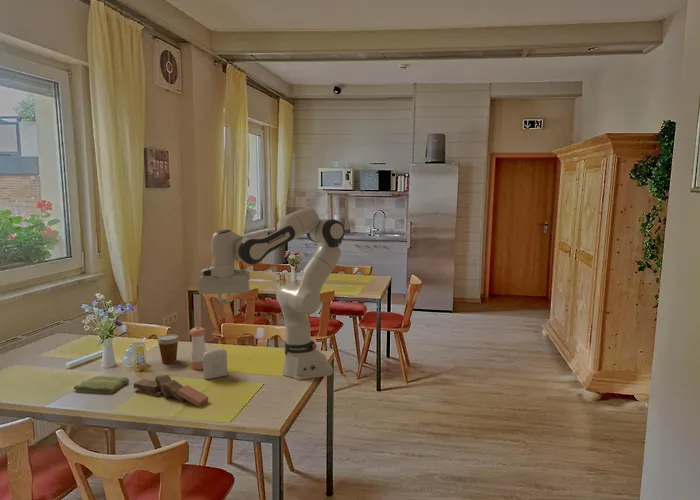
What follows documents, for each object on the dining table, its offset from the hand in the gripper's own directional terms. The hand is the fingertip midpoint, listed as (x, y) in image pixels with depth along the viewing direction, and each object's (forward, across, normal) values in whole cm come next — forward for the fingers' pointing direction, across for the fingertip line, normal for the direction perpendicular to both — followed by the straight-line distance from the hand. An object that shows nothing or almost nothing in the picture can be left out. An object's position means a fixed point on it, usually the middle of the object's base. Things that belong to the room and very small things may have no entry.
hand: (224, 303), depth 200 cm
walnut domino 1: (+33, +26, +2) cm, 42 cm away
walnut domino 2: (+35, +24, +4) cm, 43 cm away
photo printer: (+35, +6, -12) cm, 38 cm away
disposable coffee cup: (+35, +30, -34) cm, 57 cm away
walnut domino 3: (+34, +20, +8) cm, 40 cm away
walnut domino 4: (+34, +14, +11) cm, 39 cm away
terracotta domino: (+34, +7, +16) cm, 38 cm away
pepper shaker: (+35, +15, -25) cm, 46 cm away
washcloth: (+36, +51, -7) cm, 63 cm away
